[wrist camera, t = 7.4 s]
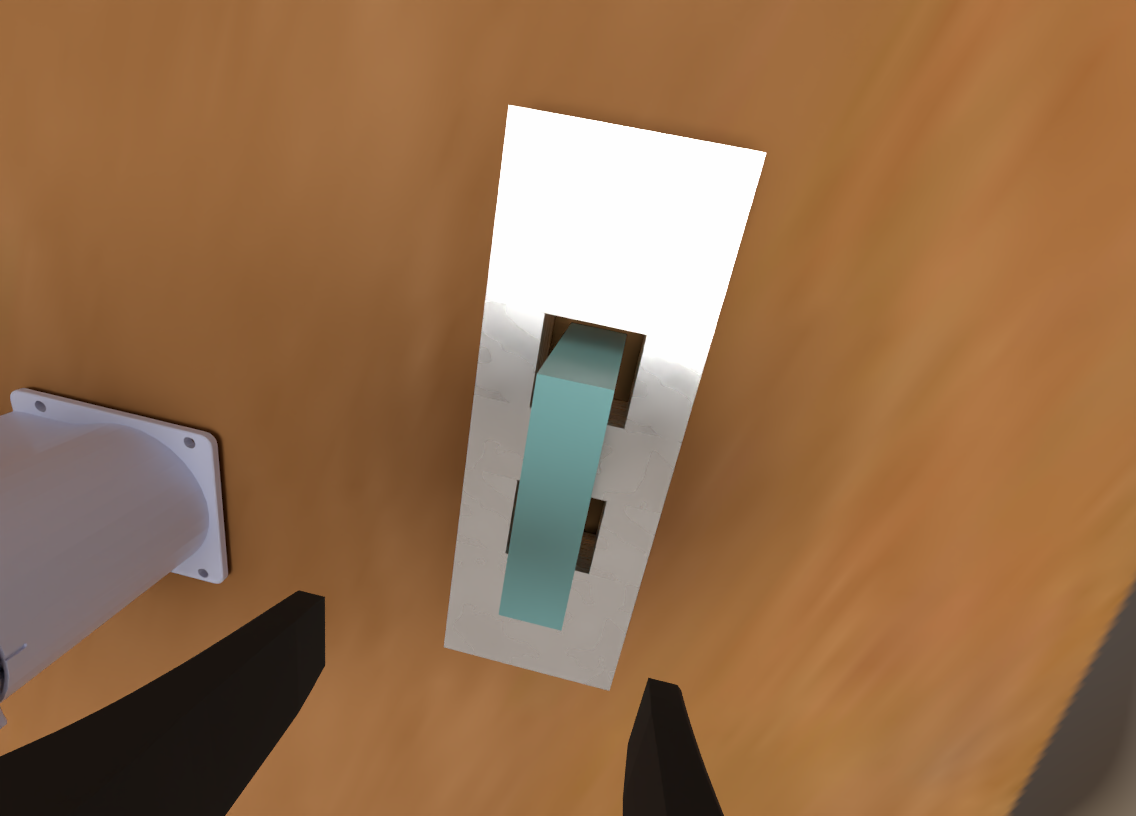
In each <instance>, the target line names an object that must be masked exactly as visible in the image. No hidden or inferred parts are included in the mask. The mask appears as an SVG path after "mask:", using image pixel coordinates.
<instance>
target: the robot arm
mask: <svg viewBox="0 0 1136 816" xmlns="http://www.w3.org/2000/svg"><path fill="white" fill-rule="evenodd" d="M10 400H11V404H12V408H13V412H10V413H7V414H4V415H1V416H0V703H1V702H3V701H4V700H5V699H6V698H8V697H9V696H10V695H12V694H13V693H14V692H16V691H17V690H18V689H19V688H21V687H22V686H23V685H25V684H26V683H27V682H28V681H30V680H31V679H32V678H34V677H35V676H36V675H38V674H39V673H40V672H41V671H43V670H44V669H45V668H47V667H48V666H49V665H50V664H52V663H53V662H54V661H56V660H57V659H58V658H60V657H61V656H62V655H63V654H65V653H66V652H67V651H69V650H70V649H71V648H72V647H74V646H75V645H76V644H78V643H79V642H80V641H82V640H83V639H84V638H85V637H87V636H88V635H89V634H91V633H92V632H93V631H94V630H96V629H97V628H98V627H100V626H101V625H102V624H104V623H105V622H106V621H107V620H109V619H110V618H111V617H113V616H114V615H115V614H116V613H118V612H119V611H120V610H122V609H123V608H124V607H126V606H127V605H128V604H129V603H131V602H132V601H133V600H135V599H136V598H137V597H138V596H140V595H141V594H142V593H144V592H145V591H146V590H148V589H149V588H150V587H151V586H153V585H154V584H155V583H157V582H158V581H159V580H160V579H162V578H163V577H164V576H166V575H167V574H168V573H170V572H173V573H177V574H181V575H185V576H188V577H192V578H196V579H200V580H204V581H207V582H211V583H217V584H219V583H221V582H223V581H224V580H225V579H226V578H227V577H228V565H227V553H226V541H225V529H224V517H223V505H222V493H221V481H220V469H219V457H218V445H217V441H216V439H215V438H214V436H213V435H211V434H210V433H208V432H205V431H201V430H197V429H193V428H189V427H184V426H180V425H176V424H172V423H168V422H164V421H160V420H155V419H151V418H147V417H143V416H139V415H135V414H131V413H126V412H122V411H118V410H114V409H110V408H106V407H102V406H97V405H93V404H89V403H85V402H81V401H77V400H73V399H68V398H64V397H60V396H56V395H52V394H48V393H44V392H39V391H35V390H31V389H27V388H21V389H18V390H14V391H13V392H12V393H11V395H10ZM191 438H192V439H193V440H194V442H195V443H194V442H193V441H192V439H191ZM324 666H325V597H323V596H319V595H315V594H311V593H307V592H303V591H297V592H295V593H294V594H292V595H291V596H289V597H287V598H286V599H284V600H283V601H281V602H280V603H278V604H276V605H275V606H273V607H272V608H270V609H269V610H267V611H266V612H264V613H263V614H261V615H259V616H258V617H256V618H255V619H253V620H252V621H250V622H249V623H247V624H246V625H244V626H242V627H241V628H239V629H238V630H236V631H235V632H233V633H232V634H230V635H228V636H227V637H225V638H224V639H222V640H220V641H219V642H217V643H216V644H214V645H212V646H211V647H209V648H208V649H206V650H204V651H203V652H201V653H199V654H198V655H196V656H195V657H193V658H191V659H190V660H188V661H186V662H185V663H183V664H181V665H180V666H178V667H176V668H174V669H173V670H171V671H169V672H168V673H166V674H164V675H162V676H161V677H159V678H157V679H155V680H154V681H152V682H150V683H148V684H147V685H145V686H143V687H141V688H140V689H138V690H136V691H134V692H133V693H131V694H129V695H127V696H125V697H123V698H121V699H120V700H118V701H116V702H114V703H112V704H110V705H108V706H106V707H104V708H103V709H101V710H99V711H97V712H95V713H93V714H91V715H89V716H87V717H85V718H83V719H81V720H79V721H77V722H75V723H73V724H71V725H69V726H67V727H64V728H62V729H60V730H58V731H56V732H54V733H52V734H50V735H47V736H45V737H43V738H41V739H38V740H36V741H34V742H32V743H29V744H27V745H25V746H23V747H21V748H18V749H16V750H14V751H12V752H9V753H7V754H5V755H3V756H0V816H225V815H226V814H227V812H228V811H229V810H230V808H231V807H232V805H233V804H234V803H235V801H236V800H237V798H238V797H239V796H240V794H241V793H242V791H243V790H244V789H245V787H246V786H247V784H248V783H249V782H250V780H251V779H252V777H253V776H254V775H255V773H256V772H257V770H258V769H259V768H260V766H261V765H262V763H263V762H264V761H265V759H266V758H267V756H268V755H269V754H270V752H271V751H272V750H273V748H274V747H275V745H276V744H277V742H278V741H279V740H280V738H281V737H282V735H283V734H284V733H285V731H286V730H287V728H288V727H289V725H290V724H291V723H292V721H293V720H294V718H295V717H296V715H297V714H298V712H299V711H300V709H301V707H302V706H303V704H304V702H305V700H306V699H307V697H308V695H309V694H310V692H311V690H312V688H313V686H314V685H315V683H316V681H317V679H318V677H319V675H320V674H321V672H322V670H323V668H324ZM6 724H7V719H6V717H5V716H4V714H3V712H2V710H1V707H0V729H1V728H2V727H3V726H5V725H6ZM623 816H724V815H723V812H722V810H721V807H720V805H719V802H718V799H717V797H716V794H715V792H714V789H713V786H712V784H711V781H710V779H709V776H708V773H707V771H706V768H705V765H704V762H703V760H702V757H701V754H700V751H699V748H698V745H697V742H696V739H695V736H694V733H693V730H692V727H691V724H690V720H689V717H688V714H687V710H686V707H685V703H684V700H683V696H682V692H681V690H680V688H679V687H678V685H675V684H671V683H667V682H663V681H659V680H655V679H651V678H648V681H647V684H646V688H645V691H644V694H643V697H642V700H641V704H640V707H639V710H638V713H637V716H636V720H635V723H634V726H633V729H632V732H631V736H630V739H629V742H628V748H627V759H626V769H625V780H624V792H623Z"/></svg>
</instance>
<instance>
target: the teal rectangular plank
mask: <svg viewBox="0 0 1136 816" xmlns="http://www.w3.org/2000/svg"><path fill="white" fill-rule="evenodd" d="M626 337H627V334H624V333H619V332H614V331H609V330H605V329H600V328H595V327H590V326H585V325H581V324H576V323H571V324H570V326H569V327H568V329H567V330H566V332H565V333H564V335H563V336H562V338H561V339H560V340H559V342H558V343H557V345H556V346H555V348H554V349H553V351H552V352H551V354H550V355H549V357H548V358H547V360H546V361H545V362H544V364H543V365H542V367H541V368H540V370H539V371H538V373H537V376H536V383H535V389H534V395H533V401H532V408H531V414H530V420H529V426H528V433H527V439H526V445H525V452H524V458H523V464H522V470H521V477H520V483H519V489H518V495H517V502H516V508H515V514H514V521H513V527H512V533H511V539H510V546H509V552H508V558H507V564H506V571H505V577H504V583H503V590H502V596H501V602H500V608H499V615H501V616H505V617H509V618H513V619H517V620H521V621H525V622H529V623H533V624H537V625H541V626H545V627H548V628H552V629H556V630H560V631H561V630H562V626H563V621H564V617H565V612H566V608H567V603H568V599H569V594H570V590H571V585H572V581H573V576H574V572H575V567H576V563H577V558H578V554H579V549H580V544H581V540H582V535H583V531H584V526H585V522H586V517H587V513H588V508H589V504H590V499H591V495H592V490H593V486H594V481H595V477H596V472H597V468H598V463H599V459H600V454H601V450H602V445H603V441H604V436H605V432H606V427H607V423H608V418H609V414H610V409H611V404H612V400H613V395H614V391H615V386H616V382H617V377H618V373H619V368H620V364H621V359H622V355H623V350H624V346H625V341H626Z"/></svg>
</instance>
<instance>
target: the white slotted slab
mask: <svg viewBox="0 0 1136 816" xmlns="http://www.w3.org/2000/svg"><path fill="white" fill-rule="evenodd" d="M765 156H766V152H760V151H755V150H750V149H744V148H739V147H733V146H728V145H723V144H717V143H712V142H706V141H701V140H696V139H690V138H685V137H680V136H674V135H669V134H663V133H658V132H653V131H647V130H642V129H636V128H631V127H626V126H620V125H615V124H610V123H604V122H599V121H593V120H588V119H583V118H577V117H572V116H567V115H561V114H556V113H550V112H545V111H540V110H534V109H529V108H523V107H518V106H513V105H509V107H508V115H507V123H506V132H505V140H504V148H503V157H502V165H501V174H500V182H499V190H498V199H497V207H496V215H495V224H494V232H493V240H492V249H491V257H490V266H489V274H488V282H487V291H486V299H485V307H484V316H483V324H482V332H481V341H480V349H479V358H478V366H477V374H476V383H475V391H474V399H473V408H472V416H471V424H470V433H469V441H468V449H467V458H466V466H465V475H464V483H463V491H462V500H461V508H460V516H459V525H458V533H457V541H456V550H455V558H454V567H453V575H452V583H451V592H450V600H449V608H448V617H447V625H446V633H445V642H444V647H445V648H449V649H453V650H457V651H460V652H464V653H468V654H472V655H476V656H479V657H483V658H487V659H491V660H494V661H498V662H502V663H506V664H510V665H513V666H517V667H521V668H525V669H529V670H532V671H536V672H540V673H544V674H548V675H551V676H555V677H559V678H563V679H567V680H570V681H574V682H578V683H582V684H586V685H589V686H593V687H597V688H601V689H605V690H608V691H609V690H610V687H611V684H612V680H613V677H614V673H615V670H616V666H617V663H618V660H619V656H620V653H621V649H622V646H623V642H624V639H625V636H626V632H627V629H628V625H629V622H630V618H631V615H632V612H633V608H634V605H635V601H636V598H637V594H638V591H639V588H640V584H641V581H642V577H643V574H644V570H645V567H646V564H647V560H648V557H649V553H650V550H651V546H652V543H653V540H654V536H655V533H656V529H657V526H658V522H659V519H660V516H661V512H662V509H663V505H664V502H665V498H666V495H667V492H668V488H669V485H670V481H671V478H672V474H673V471H674V468H675V464H676V461H677V457H678V454H679V450H680V447H681V444H682V440H683V437H684V433H685V430H686V426H687V423H688V420H689V416H690V413H691V409H692V406H693V402H694V399H695V396H696V392H697V389H698V385H699V382H700V378H701V375H702V372H703V368H704V365H705V361H706V358H707V354H708V351H709V348H710V344H711V341H712V337H713V334H714V330H715V327H716V324H717V320H718V317H719V313H720V310H721V306H722V303H723V300H724V296H725V293H726V289H727V286H728V282H729V279H730V276H731V272H732V269H733V265H734V262H735V258H736V255H737V252H738V248H739V245H740V241H741V238H742V234H743V231H744V228H745V224H746V221H747V217H748V214H749V210H750V207H751V204H752V200H753V197H754V193H755V190H756V186H757V183H758V180H759V176H760V173H761V169H762V166H763V162H764V159H765ZM555 315H557V316H561V317H566V318H571V319H575V320H580V321H585V322H589V323H594V324H599V325H604V326H608V327H613V328H618V329H622V330H627V331H632V332H636V333H641V334H644V338H643V342H642V346H641V350H640V354H639V358H638V362H637V367H636V371H635V375H634V379H633V383H632V387H631V392H630V396H629V400H628V402H625V401H621V400H616V399H613V400H612V404H611V409H610V414H609V418H608V423H607V427H606V432H605V436H604V441H603V445H602V450H601V454H600V459H599V463H598V468H597V472H596V477H595V481H594V486H593V490H592V495H591V498H596V499H600V500H604V504H603V508H602V512H601V516H600V521H599V525H598V529H597V533H596V535H594V534H590V533H586V532H583V535H582V540H581V544H580V549H579V554H578V558H577V563H576V567H575V572H574V576H573V581H572V585H571V590H570V594H569V599H568V603H567V608H566V612H565V617H564V621H563V626H562V630H561V631H560V630H556V629H552V628H548V627H545V626H541V625H537V624H533V623H529V622H525V621H521V620H517V619H513V618H509V617H505V616H501V615H499V608H500V602H501V596H502V590H503V583H504V577H505V571H506V564H507V558H508V552H509V546H510V539H511V533H512V527H513V521H514V514H515V508H516V502H517V495H518V489H519V483H520V477H521V470H522V464H523V458H524V452H525V445H526V439H527V433H528V426H529V420H530V414H531V408H532V401H533V395H534V389H535V383H536V376H537V373H538V371H539V370H540V368H541V367H542V365H543V364H544V362H545V361H546V360H547V358H548V356H549V350H550V344H551V338H552V333H553V327H554V321H555Z"/></svg>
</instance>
